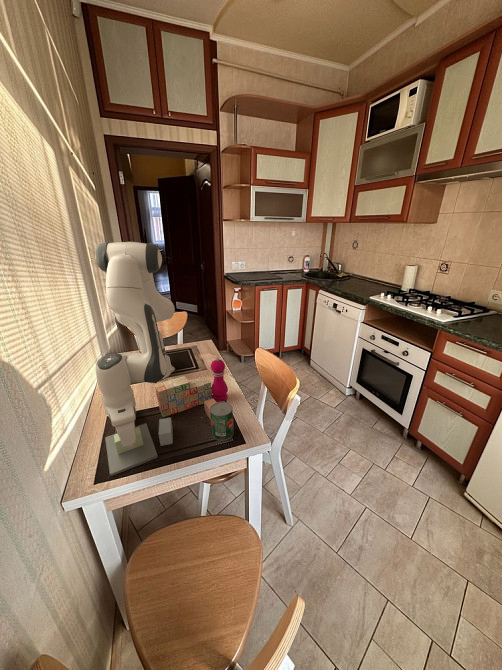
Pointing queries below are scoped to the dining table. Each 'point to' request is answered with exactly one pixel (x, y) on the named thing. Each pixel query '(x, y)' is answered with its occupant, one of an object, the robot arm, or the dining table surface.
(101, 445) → the dining table surface
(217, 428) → the canned tomato
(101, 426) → the dining table surface
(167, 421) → the slate brick
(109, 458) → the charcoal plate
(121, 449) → the sage brick
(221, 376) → the pepper mill
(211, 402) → the terracotta brick
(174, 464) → the dining table surface
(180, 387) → the stack of blocks
